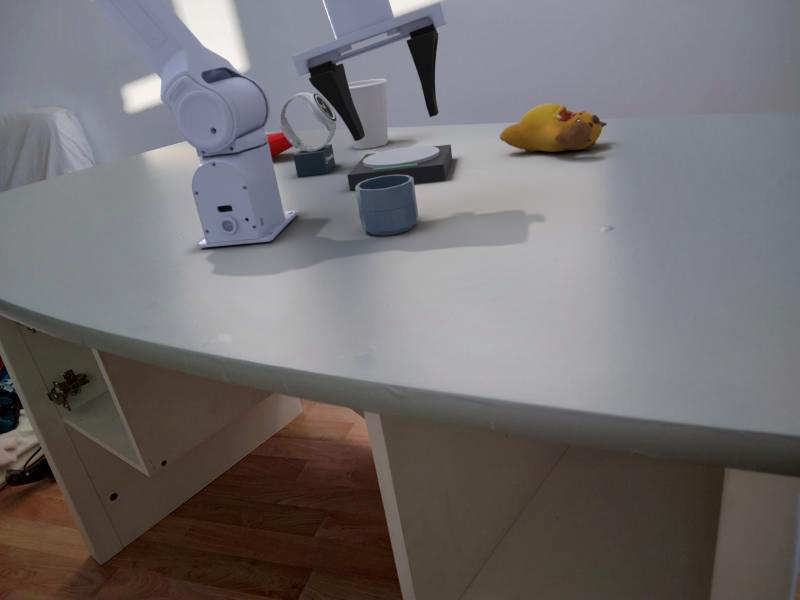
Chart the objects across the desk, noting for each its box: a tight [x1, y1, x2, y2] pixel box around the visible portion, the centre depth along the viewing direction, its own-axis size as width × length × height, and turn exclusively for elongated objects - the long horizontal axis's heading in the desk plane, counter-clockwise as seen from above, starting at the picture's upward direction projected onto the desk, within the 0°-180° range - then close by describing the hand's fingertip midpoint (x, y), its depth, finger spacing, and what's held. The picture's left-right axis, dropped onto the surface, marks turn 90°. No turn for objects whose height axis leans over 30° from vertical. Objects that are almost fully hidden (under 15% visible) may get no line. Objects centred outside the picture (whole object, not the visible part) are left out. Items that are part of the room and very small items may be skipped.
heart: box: [265, 131, 294, 159], centre depth 109 cm, size 12×4×10 cm
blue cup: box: [354, 175, 419, 236], centre depth 63 cm, size 6×6×5 cm
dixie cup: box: [348, 78, 389, 150], centre depth 106 cm, size 8×8×10 cm
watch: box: [278, 91, 338, 178], centre depth 92 cm, size 6×8×11 cm
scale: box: [346, 143, 453, 191], centre depth 84 cm, size 12×12×2 cm
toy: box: [499, 102, 608, 153], centre depth 83 cm, size 11×6×15 cm
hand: (396, 127), depth 63 cm, fingers open, 7 cm apart
